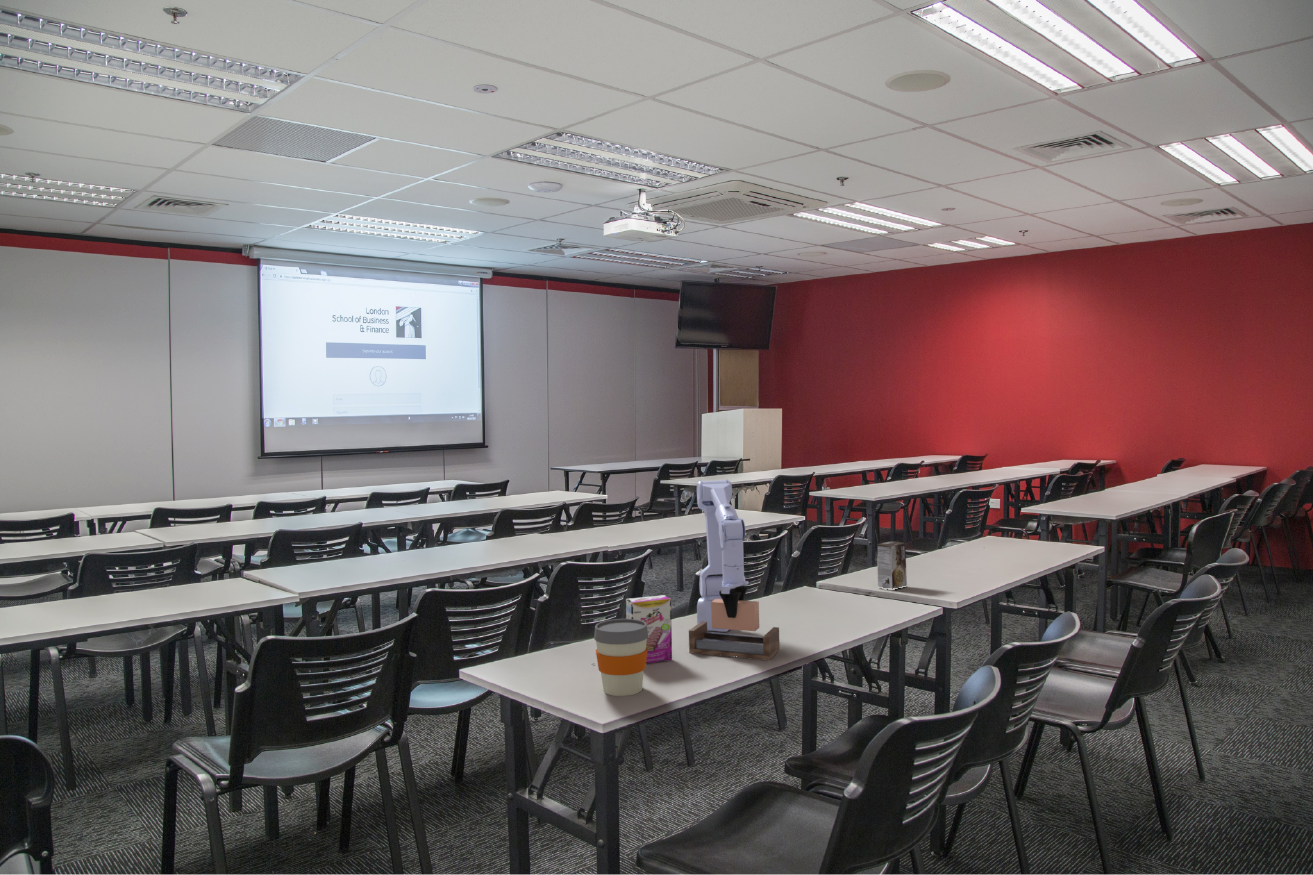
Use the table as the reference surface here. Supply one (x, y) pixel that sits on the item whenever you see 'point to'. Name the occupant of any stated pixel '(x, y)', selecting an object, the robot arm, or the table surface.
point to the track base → (733, 643)
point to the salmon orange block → (744, 618)
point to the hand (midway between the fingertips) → (734, 615)
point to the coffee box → (891, 564)
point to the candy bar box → (654, 624)
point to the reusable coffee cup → (621, 655)
